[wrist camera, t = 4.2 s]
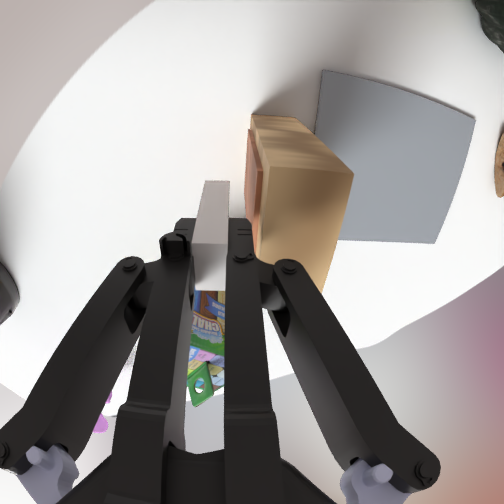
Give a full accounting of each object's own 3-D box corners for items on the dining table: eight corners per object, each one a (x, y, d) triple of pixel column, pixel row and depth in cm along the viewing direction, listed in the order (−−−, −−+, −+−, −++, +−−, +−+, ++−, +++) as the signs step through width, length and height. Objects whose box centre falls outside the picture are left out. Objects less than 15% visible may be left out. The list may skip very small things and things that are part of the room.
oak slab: (243, 193, 28) (250, 297, 17) (247, 114, 23) (262, 165, 12) (285, 194, 28) (320, 296, 17) (295, 117, 23) (354, 173, 12)
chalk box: (186, 253, 32) (167, 368, 20) (251, 284, 35) (260, 393, 24) (155, 298, 36) (135, 399, 24) (214, 323, 40) (212, 419, 28)
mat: (297, 236, 31) (298, 238, 31) (322, 69, 20) (324, 70, 20) (432, 241, 33) (434, 243, 32) (473, 119, 22) (475, 120, 22)
